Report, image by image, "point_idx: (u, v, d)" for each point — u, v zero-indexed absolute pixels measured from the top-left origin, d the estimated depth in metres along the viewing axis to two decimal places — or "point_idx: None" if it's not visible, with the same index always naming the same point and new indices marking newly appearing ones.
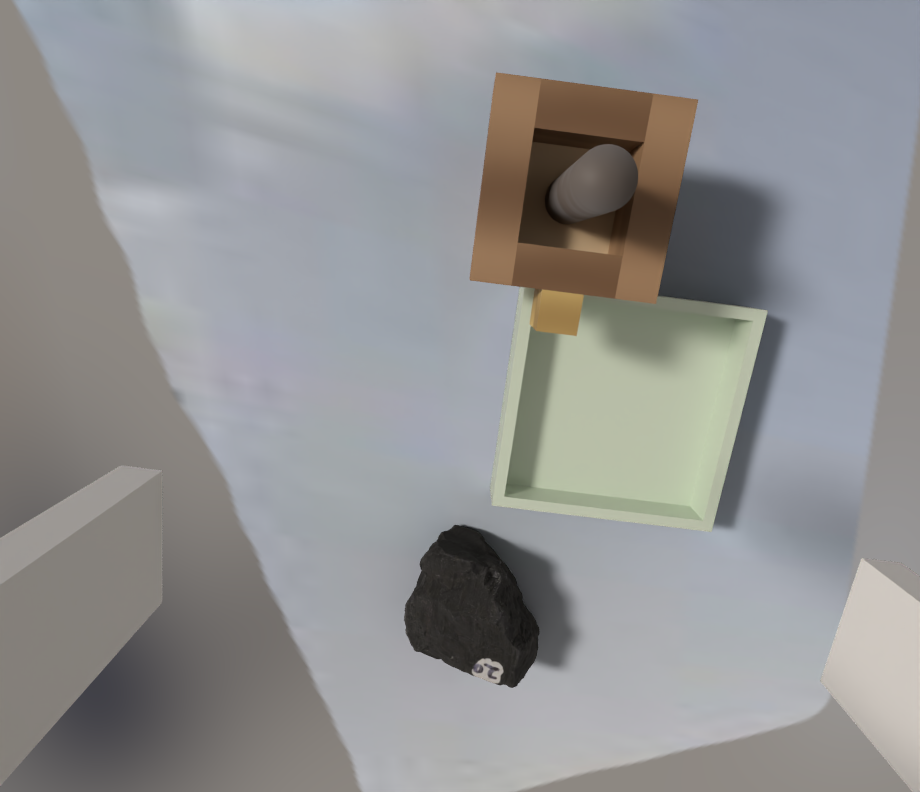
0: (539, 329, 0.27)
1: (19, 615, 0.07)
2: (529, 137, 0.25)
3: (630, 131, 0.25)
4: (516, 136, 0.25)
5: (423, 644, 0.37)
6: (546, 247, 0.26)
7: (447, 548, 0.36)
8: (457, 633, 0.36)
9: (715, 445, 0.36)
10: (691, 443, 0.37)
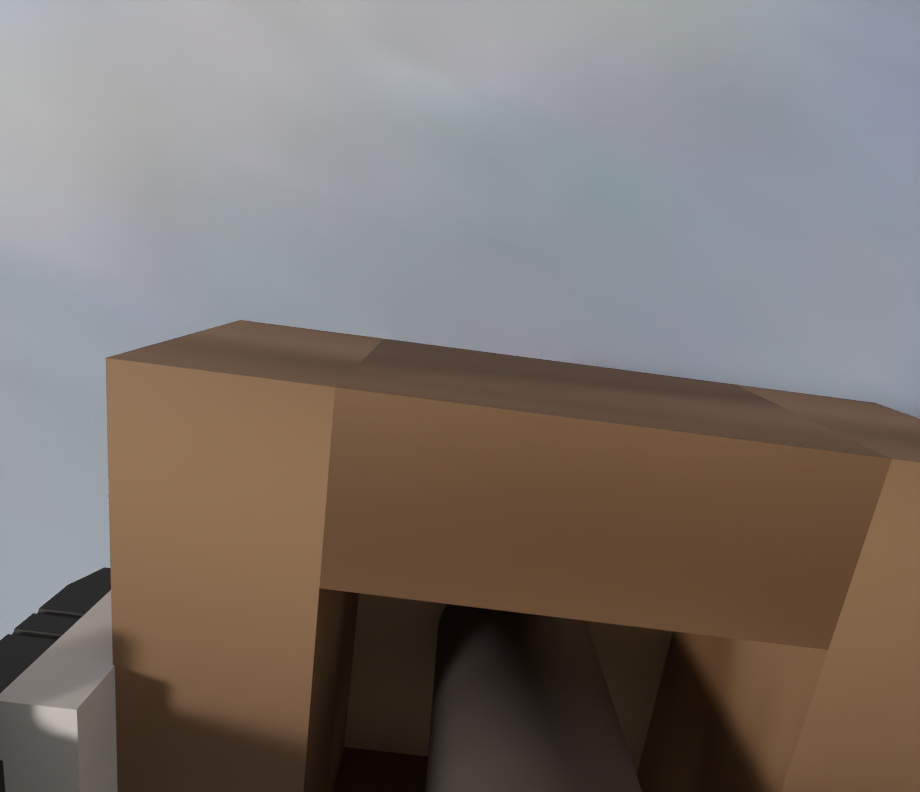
0: None
1: None
2: (302, 622, 0.06)
3: (767, 608, 0.05)
4: (241, 618, 0.06)
5: None
6: None
7: None
8: None
9: None
10: None
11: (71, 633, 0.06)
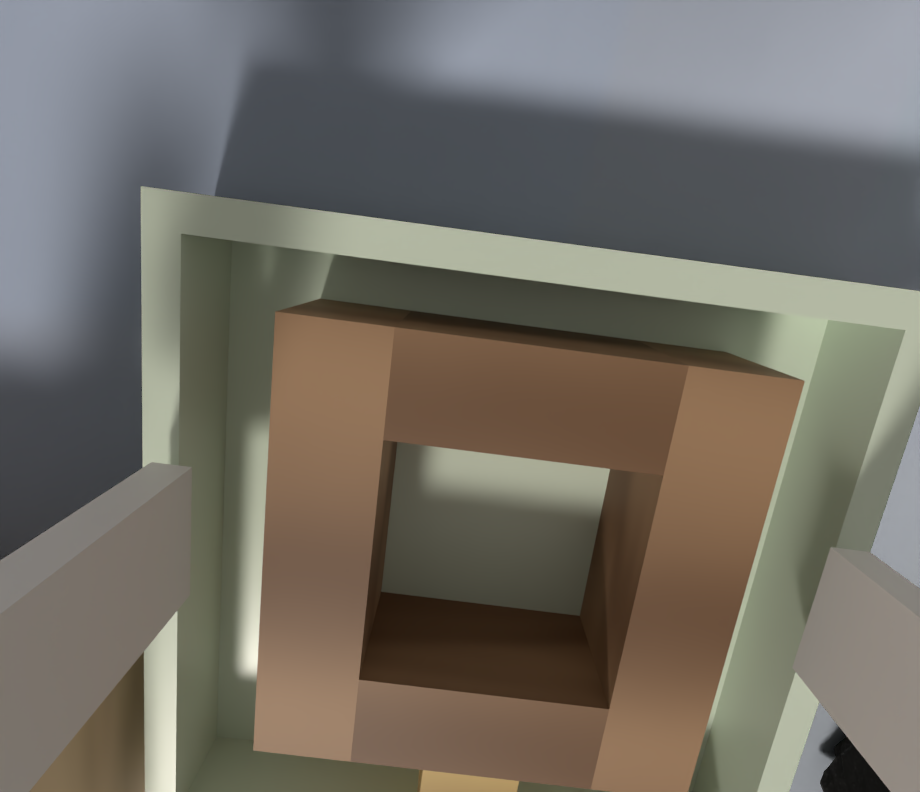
0: None
1: (68, 603, 0.07)
2: (373, 461, 0.10)
3: (628, 451, 0.10)
4: (339, 458, 0.10)
5: None
6: (427, 690, 0.11)
7: None
8: None
9: None
10: (619, 332, 0.12)
11: None
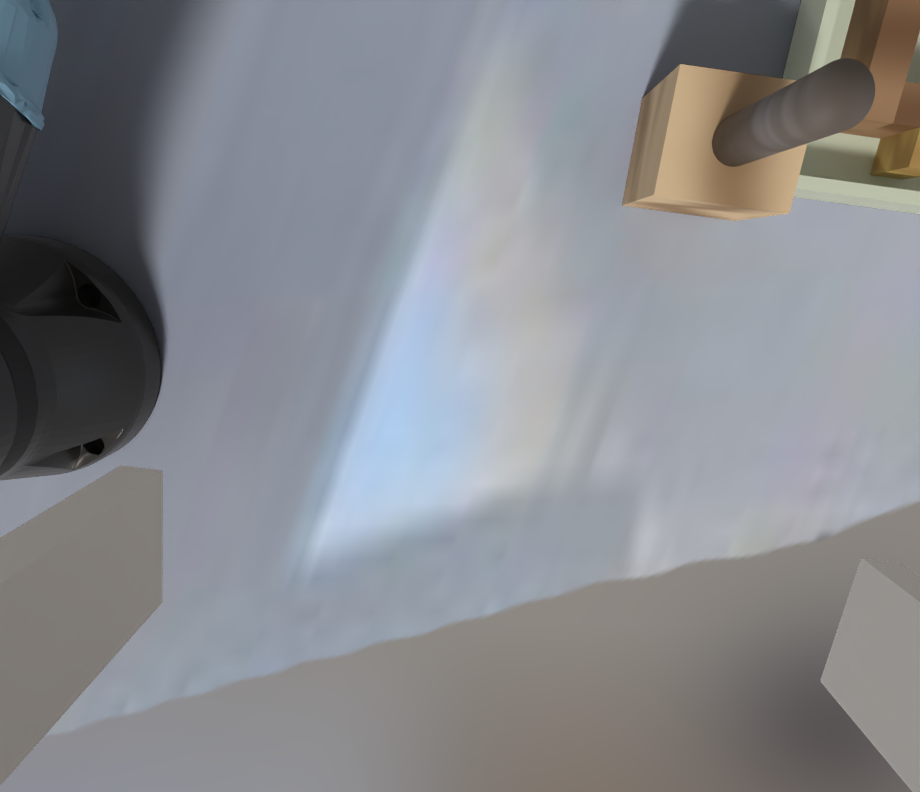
0: (912, 165, 0.30)
1: (20, 615, 0.07)
2: None
3: None
4: None
5: None
6: None
7: None
8: None
9: None
10: None
11: None
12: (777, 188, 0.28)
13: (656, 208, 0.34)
